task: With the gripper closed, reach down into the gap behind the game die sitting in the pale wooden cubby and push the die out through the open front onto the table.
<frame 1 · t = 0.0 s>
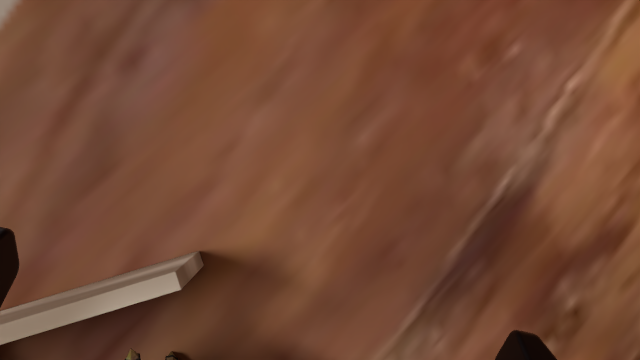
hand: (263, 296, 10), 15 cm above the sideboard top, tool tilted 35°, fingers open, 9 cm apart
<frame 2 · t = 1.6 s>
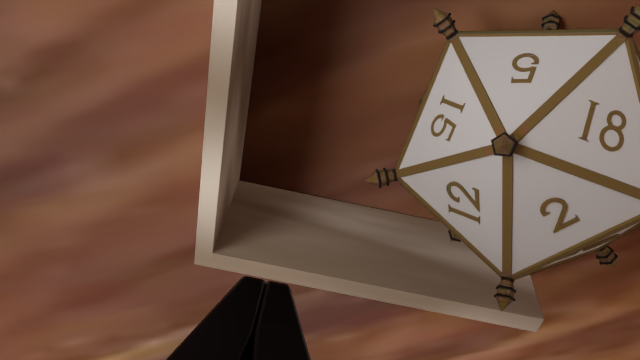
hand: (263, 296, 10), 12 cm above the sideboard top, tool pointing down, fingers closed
cubby: (423, 72, 20), on the sideboard top
game die: (503, 86, 20), on the sideboard top
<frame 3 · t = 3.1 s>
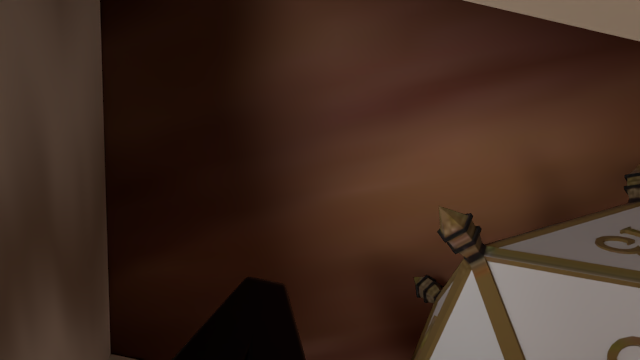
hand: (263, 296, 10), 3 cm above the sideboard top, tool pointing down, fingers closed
cubby: (375, 231, 12), on the sideboard top
game die: (549, 261, 12), on the sideboard top, touching gripper
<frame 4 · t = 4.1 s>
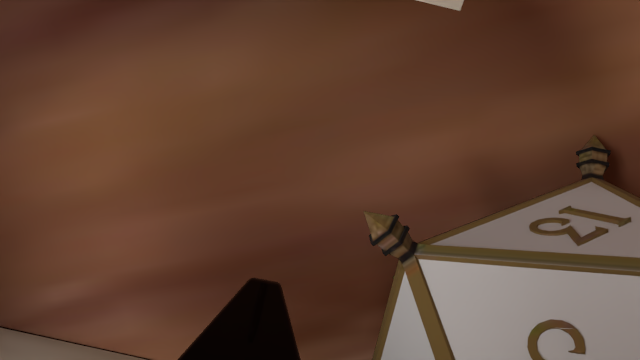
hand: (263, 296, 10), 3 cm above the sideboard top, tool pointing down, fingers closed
cubby: (77, 165, 12), on the sideboard top
game die: (525, 245, 12), on the sideboard top, touching gripper
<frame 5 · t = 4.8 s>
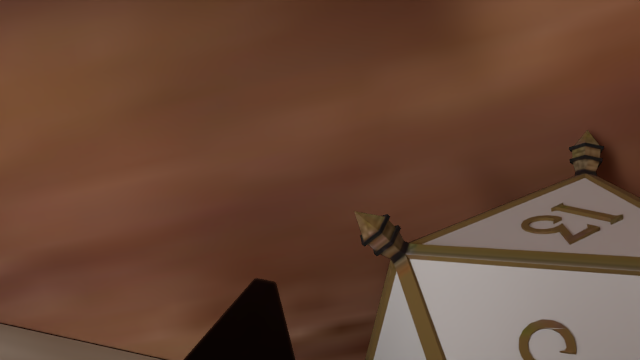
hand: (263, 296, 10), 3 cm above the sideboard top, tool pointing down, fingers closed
game die: (520, 241, 12), on the sideboard top, touching gripper
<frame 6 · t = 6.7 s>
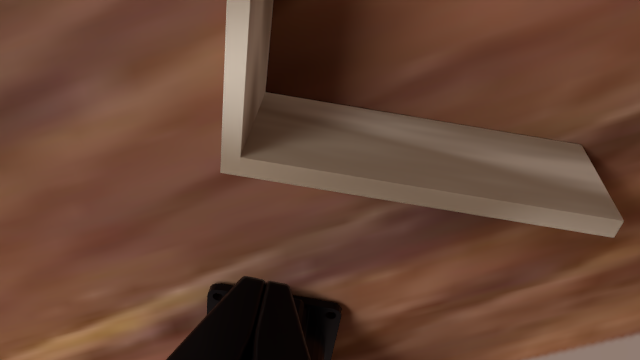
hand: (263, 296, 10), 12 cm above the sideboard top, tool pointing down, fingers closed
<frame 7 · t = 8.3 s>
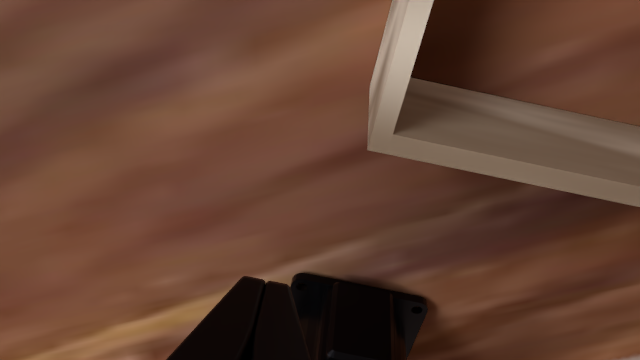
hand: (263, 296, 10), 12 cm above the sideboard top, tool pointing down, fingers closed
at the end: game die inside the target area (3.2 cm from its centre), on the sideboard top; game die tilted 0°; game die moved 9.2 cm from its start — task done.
